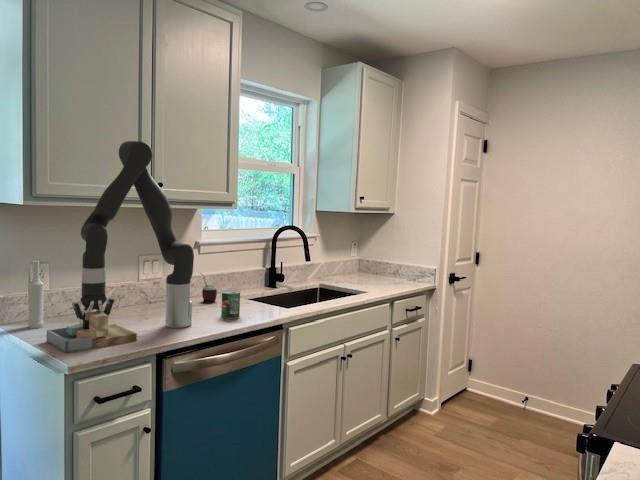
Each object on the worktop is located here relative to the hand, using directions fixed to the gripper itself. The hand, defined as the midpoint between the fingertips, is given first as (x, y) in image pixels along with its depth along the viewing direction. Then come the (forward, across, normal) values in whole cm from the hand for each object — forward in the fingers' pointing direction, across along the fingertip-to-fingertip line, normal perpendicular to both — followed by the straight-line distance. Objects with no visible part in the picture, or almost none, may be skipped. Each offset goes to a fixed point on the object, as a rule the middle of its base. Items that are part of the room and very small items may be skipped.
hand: (93, 329), depth 172 cm
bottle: (+4, +8, -31) cm, 32 cm away
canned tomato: (+5, -60, -1) cm, 60 cm away
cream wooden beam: (+1, 0, 0) cm, 1 cm away
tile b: (+2, +4, +4) cm, 6 cm away
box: (+4, +8, 0) cm, 9 cm away
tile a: (+2, +4, -4) cm, 6 cm away
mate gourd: (+5, -70, -32) cm, 77 cm away
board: (+4, -4, 0) cm, 6 cm away
